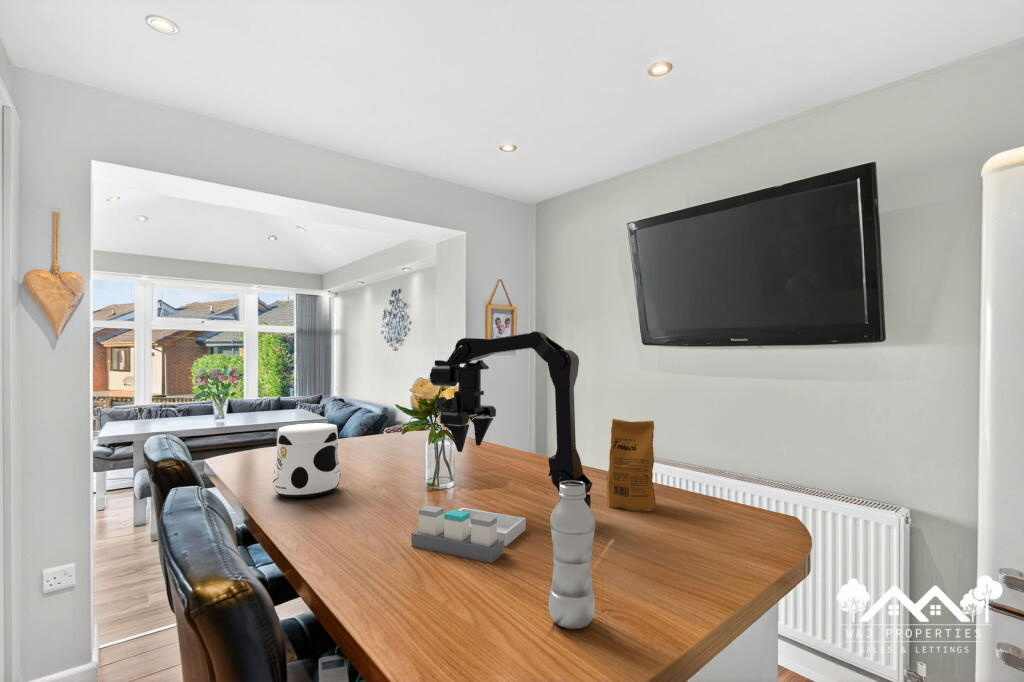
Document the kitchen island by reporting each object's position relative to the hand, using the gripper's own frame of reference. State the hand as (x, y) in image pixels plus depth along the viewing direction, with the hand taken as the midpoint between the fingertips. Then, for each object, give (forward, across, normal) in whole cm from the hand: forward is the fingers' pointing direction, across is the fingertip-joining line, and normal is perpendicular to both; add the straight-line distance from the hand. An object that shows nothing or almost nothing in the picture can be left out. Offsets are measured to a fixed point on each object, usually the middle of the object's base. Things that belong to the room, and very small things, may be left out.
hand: (469, 448), depth 123 cm
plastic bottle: (+15, +39, +40) cm, 58 cm away
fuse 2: (+14, +25, +18) cm, 34 cm away
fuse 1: (+14, +25, +6) cm, 30 cm away
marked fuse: (+14, +25, +12) cm, 31 cm away
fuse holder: (+15, +25, +12) cm, 32 cm away
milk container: (+15, +10, -46) cm, 49 cm away
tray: (+15, +15, +12) cm, 24 cm away
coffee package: (+15, -19, +37) cm, 44 cm away
